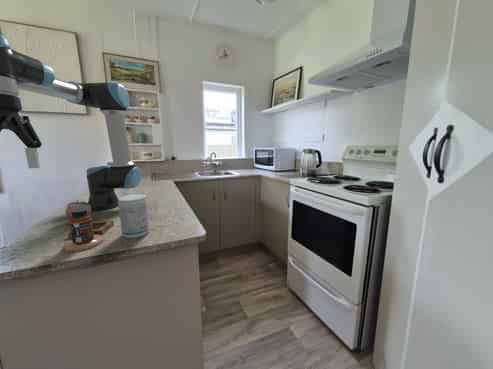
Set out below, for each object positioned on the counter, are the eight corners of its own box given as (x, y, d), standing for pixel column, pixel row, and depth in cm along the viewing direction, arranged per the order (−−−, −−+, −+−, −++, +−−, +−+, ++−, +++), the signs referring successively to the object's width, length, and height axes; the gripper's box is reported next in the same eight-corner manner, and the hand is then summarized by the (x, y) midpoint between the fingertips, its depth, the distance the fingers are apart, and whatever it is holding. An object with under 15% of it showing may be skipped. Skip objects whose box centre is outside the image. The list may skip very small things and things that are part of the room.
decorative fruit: (96, 216, 101) (93, 196, 99) (88, 222, 93) (85, 201, 91) (73, 218, 99) (70, 198, 97) (63, 224, 91) (59, 202, 89)
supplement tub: (125, 230, 84) (121, 195, 81) (151, 227, 87) (147, 193, 84) (119, 240, 75) (114, 201, 72) (147, 237, 78) (143, 198, 75)
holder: (85, 227, 88) (84, 222, 88) (113, 225, 90) (113, 220, 90) (68, 238, 77) (68, 233, 77) (101, 235, 79) (100, 230, 79)
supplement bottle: (82, 246, 69) (77, 213, 67) (68, 244, 70) (62, 212, 68) (98, 238, 75) (94, 208, 73) (85, 237, 76) (80, 207, 74)
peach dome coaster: (76, 238, 77) (76, 236, 77) (109, 235, 79) (108, 233, 79) (55, 253, 66) (55, 250, 66) (94, 249, 68) (93, 246, 68)
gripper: (22, 103, 69) (34, 166, 73) (-76, 80, 45) (-50, 176, 49) (48, 103, 70) (59, 166, 74) (-34, 81, 46) (-11, 175, 50)
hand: (16, 170), depth 62 cm, fingers open, 13 cm apart
